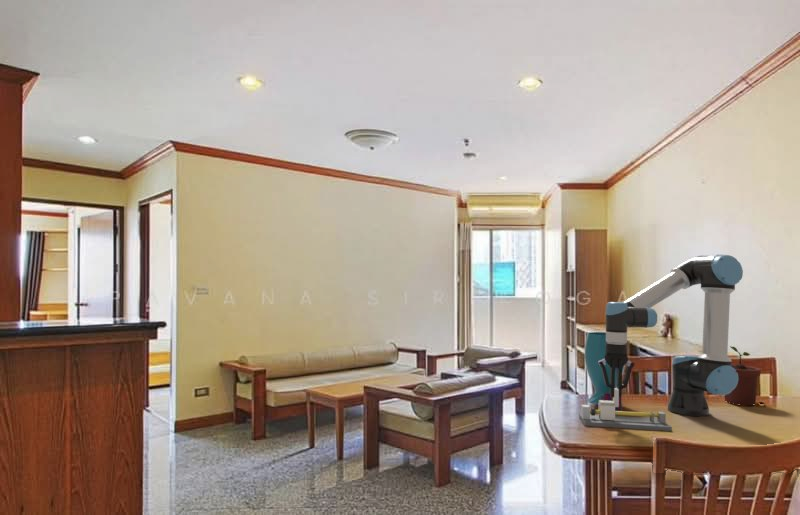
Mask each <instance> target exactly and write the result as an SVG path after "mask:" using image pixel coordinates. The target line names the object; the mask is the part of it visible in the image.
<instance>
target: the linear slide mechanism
mask: <svg viewBox="0 0 800 515" xmlns="http://www.w3.org/2000/svg"><path fill="white" fill-rule="evenodd" d="M580 407H581V410H580V411H581V412H580V413H579V414H578V416H579V417H578V418H579V420H580V421H581V423H582V424H583V425H584V426H585V427H594V428H595V427H598V428H611V427H612V428H614V429H627V430H628V429H630V430H632V429H633V430H644V429H645V430H644V431H646V430H647V431H648V430H649V431H661V430H663V431H664V432H672V431H673V427H672V426H671V424H669V423H667V422H666V420H667V419H666V415H667V414H666V413H665V412H663V411H657V412H653V411H651V410H650V411H649V412H641V411H640V412H639V411H623V410H621V411H615V420H601V419H600V417H598V414H600V410H598V409H596V408H595V407H590V405H589V404H581V406H580ZM663 431H662V432H663Z"/></svg>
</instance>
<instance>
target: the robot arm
mask: <svg viewBox="0 0 800 515" xmlns="http://www.w3.org/2000/svg"><path fill="white" fill-rule="evenodd" d="M743 273H744V270H743V267H742V264H741V262H740V261H738V259H737V258H736V257H734V256H733V255H729V254H710V255H709V254H708V255H697V256H694V257H692V258H689V259H688V260H686V261H683V262H682V263H680V264H679V265H677V266H676V267H674V268H672V269H670V273H668V274H666V275H665V276H664V277H662V278H661V279H659V280H657V281H656V282H654V283H653V284H651V285H649V286H648V287H646V288H644V289H642V290H641V291H640V292H637V293H635V295H633V296H631V297H630V298H628V299H627V300H625V301H623V302H619V301H617V302H616V301H608V302H607V303H606V307H605V333H606V342H607V343H606V354H605V356H604V359H602V360H601V361H600V360H599V361H598V363H599V365H600V366H601V370H602V374H603V378H604V382H605V385H606V386H607V387H609V388H610V396H611V397H613V402H614V403H615V407H619V398H621V399H622V392H623V391H622V390H623V389H625V388H628V384H629V380H630V376H631V373H632V369H634V368H633V367H635V363H634V362H632V361H631V360H629V357H628V345H627V343H628V328H640V329H641V328H645V329H647V328H653V327H655V326H656V325H657V324H658V313H657V311H656V310H655V309H654V308H653V307H654V306H656V305H657V304H659V303H661V302H662V301H664V300H666V299H668V298H669V297H671V296H672V295H673V294H675V293H677V292H679V291H680V290H682V289H683V290H687V289H689V288H690V287H692V286H697V285H700V289H701V290H702V291H703V292H704V301H703V302H704V303H703V304H704V306H703V322H702V324H703V326H702V328H703V329H702V344H701V345H702V349H701V350H702V351H701V353H700V354H699V355H675V356H674V357H673V358H672V365H671V367H672V370H671V371H672V391H671V394H670V397H669V400H668V403H667V410H668V411H669V412H672V413H674V414H679V415H684V416H693V417H705V416H709V415H710V407H709V404H708V402H707V399H706V396H705V392H707V393H710V394H712V395H719V396H725V395H726V394H729V393H731V392H732V390H734V389H735V388H736V386H737V383H738V373H737V372H736V370H735V369H734V368H733V367H731V366H732V365H733V362H732V361H733V360H732V359H731V358H730V357H729V356H728V350H729V325H730V323H729V322H730V307H731V306H730V303H731V301H730V300H731V294H732V293H733V292H734V291H735V290H736V285H737V284H739V283H740V281H742V278H743V276H744V275H743ZM605 362H607V364H608V365H609V366H610V384H609V380H608V376H607V372H606V368H605V364H606V363H605ZM624 365H625V366H626V367H625V368H626V369H625V371H624V374H623V375H622V368H623V367H624ZM615 368H617V388H615ZM623 376H624V377H623Z"/></svg>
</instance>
